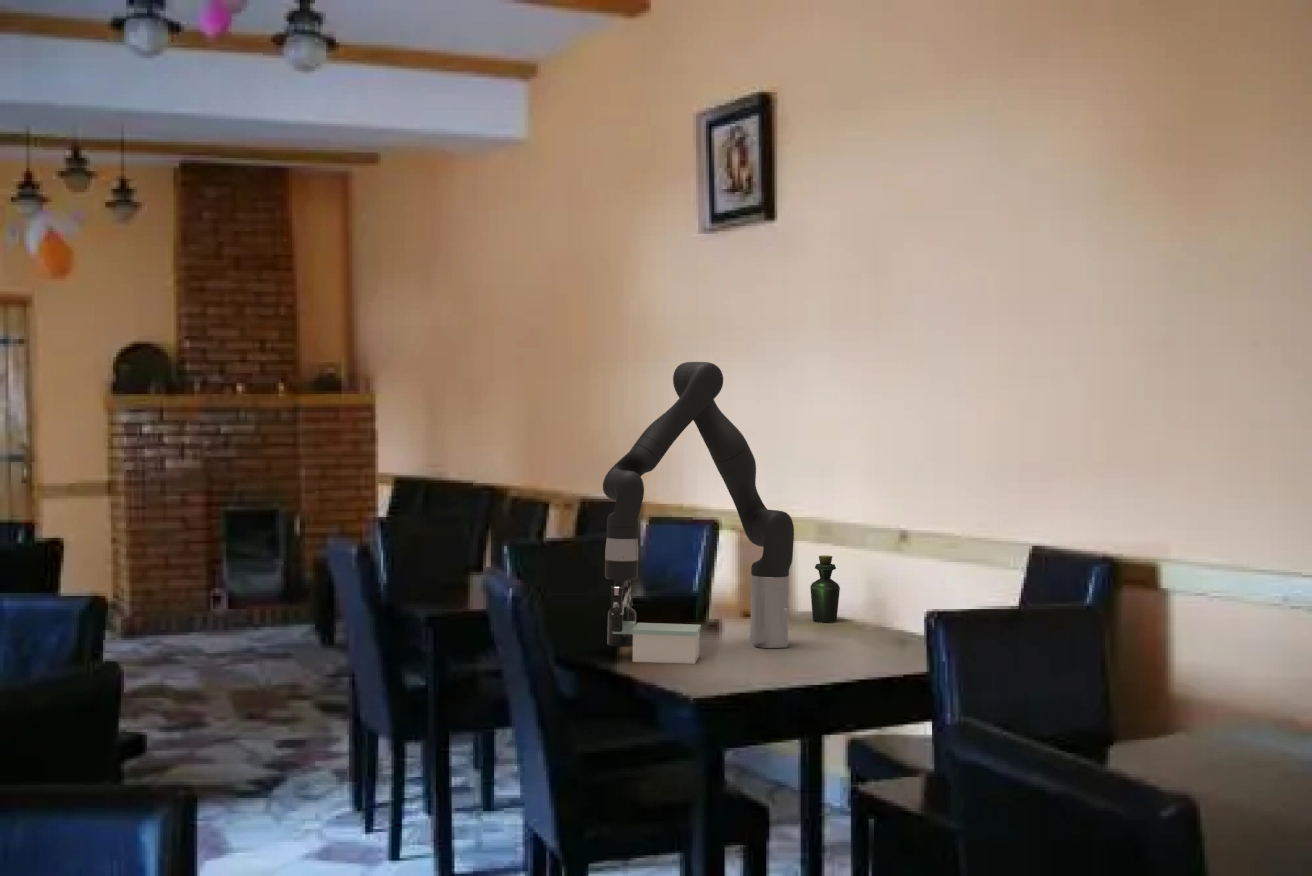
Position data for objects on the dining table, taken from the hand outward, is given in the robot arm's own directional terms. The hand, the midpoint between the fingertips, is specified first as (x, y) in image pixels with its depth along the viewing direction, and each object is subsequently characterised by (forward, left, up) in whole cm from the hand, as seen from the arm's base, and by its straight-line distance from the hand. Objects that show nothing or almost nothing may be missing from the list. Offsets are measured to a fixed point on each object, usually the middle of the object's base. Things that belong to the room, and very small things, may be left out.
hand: (620, 629), depth 315 cm
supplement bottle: (+2, -18, -8) cm, 20 cm away
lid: (-8, 0, -1) cm, 8 cm away
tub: (-11, 0, -7) cm, 13 cm away
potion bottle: (-46, -73, -8) cm, 86 cm away
